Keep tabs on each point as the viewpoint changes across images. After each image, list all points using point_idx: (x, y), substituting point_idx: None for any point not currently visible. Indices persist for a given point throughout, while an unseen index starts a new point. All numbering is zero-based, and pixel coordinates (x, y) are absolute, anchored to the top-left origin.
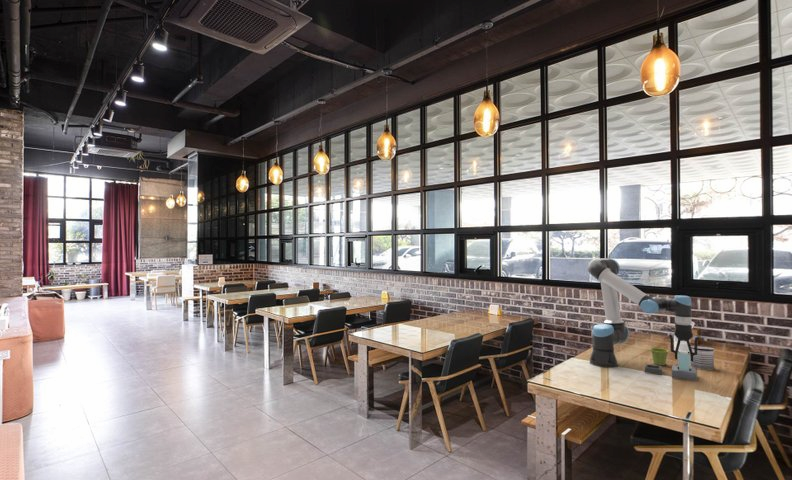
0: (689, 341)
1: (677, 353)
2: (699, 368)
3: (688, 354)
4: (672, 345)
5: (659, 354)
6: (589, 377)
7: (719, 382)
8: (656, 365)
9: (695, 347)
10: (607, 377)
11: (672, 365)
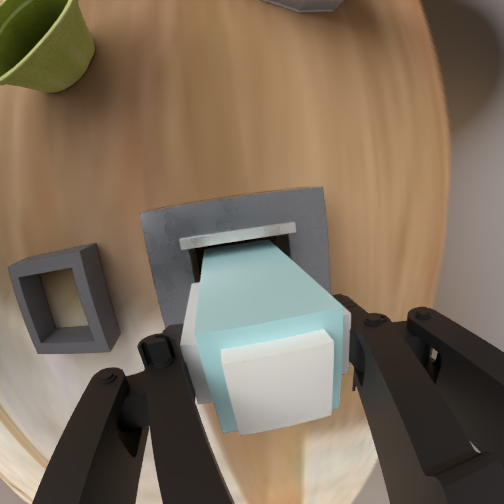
0: (482, 471)
1: (188, 372)
2: (290, 8)
3: (334, 408)
4: (124, 498)
5: (21, 76)
6: (29, 468)
7: (405, 255)
8: (53, 259)
9: (465, 419)
10: (43, 457)
11: (142, 226)
